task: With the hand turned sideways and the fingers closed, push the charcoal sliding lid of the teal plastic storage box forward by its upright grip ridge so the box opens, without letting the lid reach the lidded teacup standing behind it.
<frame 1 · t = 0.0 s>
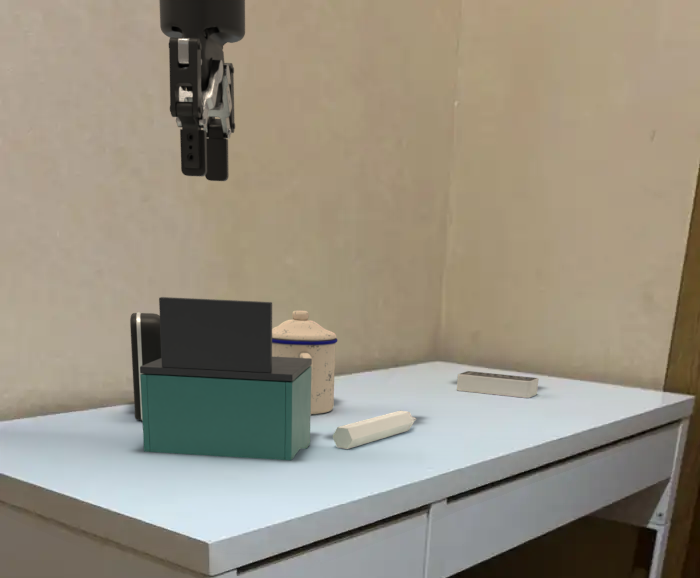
hand: (206, 178, 88), 25 cm above the table, tool pointing down, fingers open, 8 cm apart
box lid: (230, 332, 88), point 11 cm above the table, slide at 0.0 cm
storage box: (231, 452, 93), on the table
multiport hub: (496, 393, 136), on the table
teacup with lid: (300, 412, 116), on the table
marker: (380, 438, 103), on the table
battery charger: (152, 418, 109), on the table
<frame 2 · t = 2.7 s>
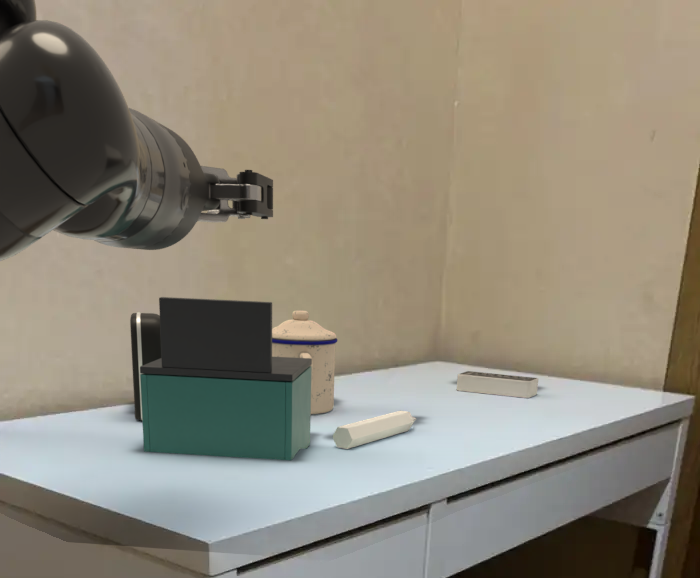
hand: (190, 201, 71), 22 cm above the table, tool horizontal, fingers open, 8 cm apart
nothing on the table moved.
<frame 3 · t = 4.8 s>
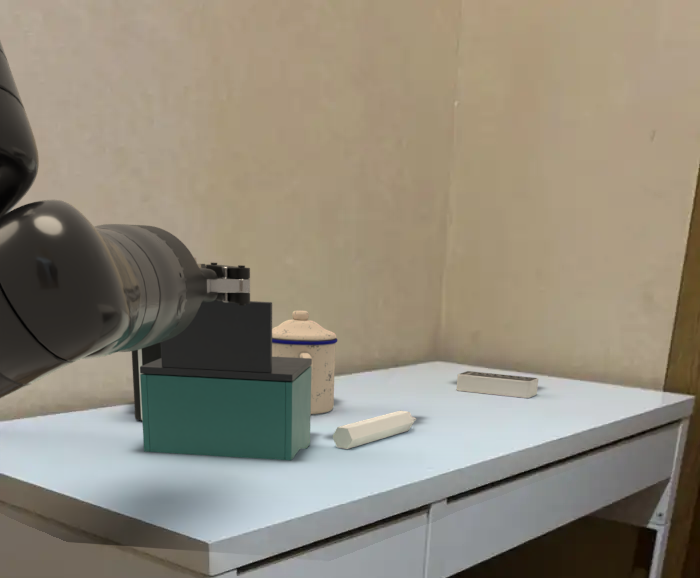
hand: (197, 277, 76), 17 cm above the table, tool horizontal, fingers closed
nothing on the table moved.
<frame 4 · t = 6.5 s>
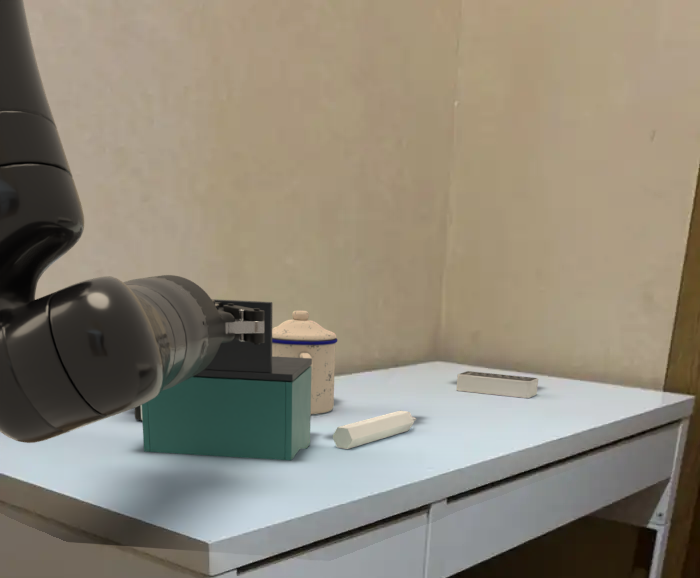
hand: (214, 314, 82), 13 cm above the table, tool horizontal, fingers closed
box lid: (230, 332, 89), point 11 cm above the table, slide at 0.1 cm, touching gripper
everything else where it was.
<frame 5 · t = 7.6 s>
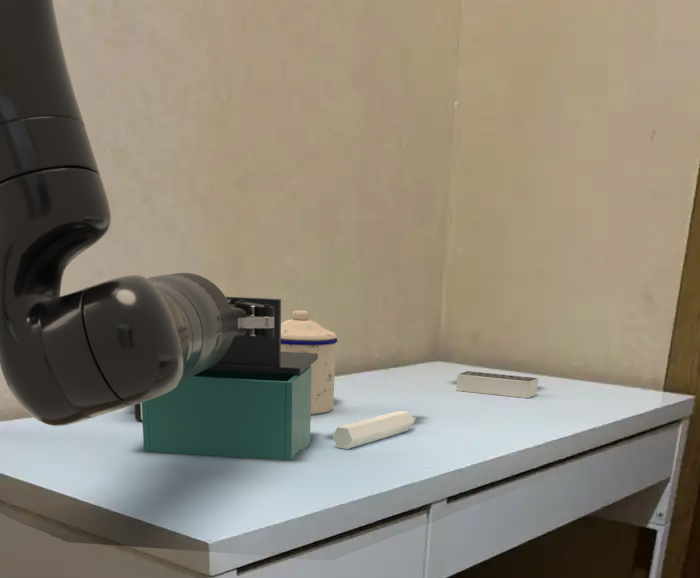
hand: (225, 311, 86), 13 cm above the table, tool horizontal, fingers closed
box lid: (240, 328, 93), point 11 cm above the table, slide at 4.4 cm, touching gripper
everything else where it was.
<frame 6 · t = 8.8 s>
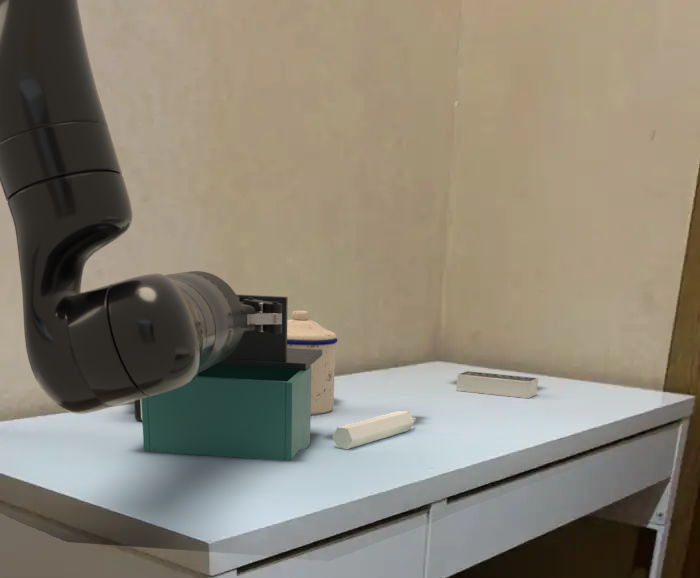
hand: (234, 308, 90), 13 cm above the table, tool horizontal, fingers closed
box lid: (247, 325, 96), point 11 cm above the table, slide at 8.0 cm, touching gripper
everything else where it was.
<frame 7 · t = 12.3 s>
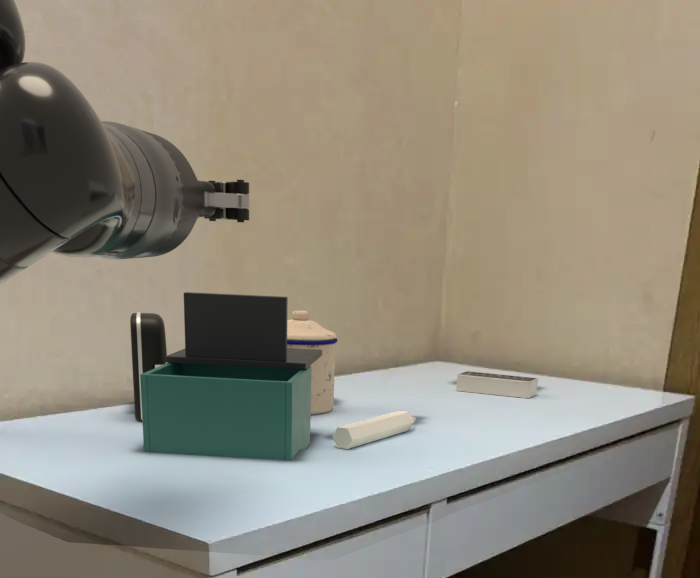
hand: (194, 201, 74), 22 cm above the table, tool horizontal, fingers closed
box lid: (247, 325, 96), point 11 cm above the table, slide at 8.0 cm
everything else where it was.
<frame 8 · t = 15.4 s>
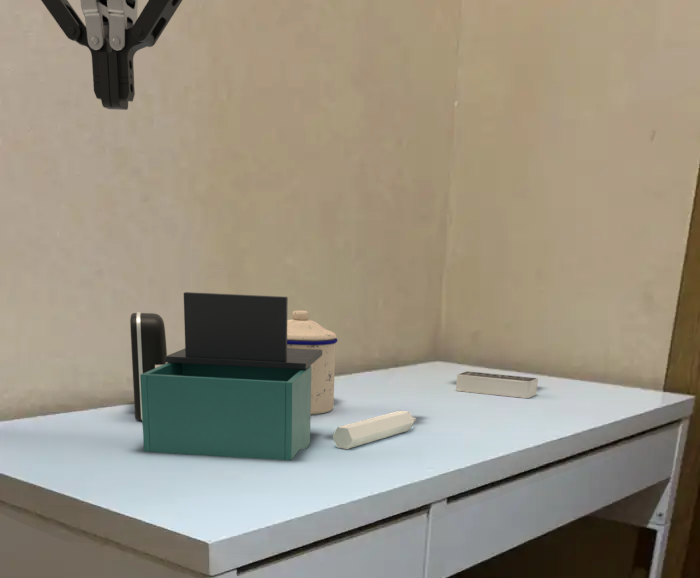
hand: (114, 108, 74), 29 cm above the table, tool pointing down, fingers closed
nothing on the table moved.
at the end: box lid slide at 8.0 cm; box lid touching nothing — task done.
